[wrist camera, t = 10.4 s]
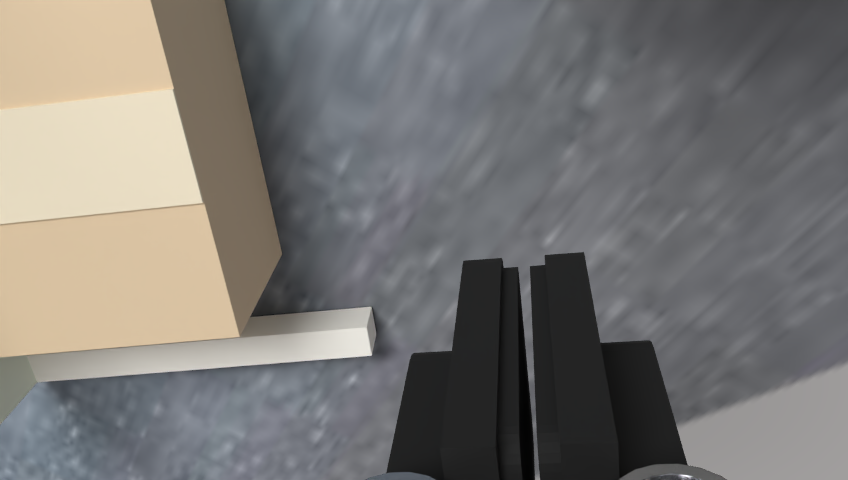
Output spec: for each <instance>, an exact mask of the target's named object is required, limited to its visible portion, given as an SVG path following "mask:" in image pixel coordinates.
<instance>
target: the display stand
mask: <svg viewBox="0 0 848 480" xmlns="http://www.w3.org/2000/svg"><path fill="white" fill-rule="evenodd" d="M375 339H376V329H375V323H374V318H373V312H372V307H362V308H351V309H339V310H327V311H316V312H304V313H293V314H281V315H270V316H258V317H250V318H249V320H248V322H247V324H246V326H245V328H244V330H243V332H242V334H241V336H240V337H233V338H222V339H210V340H198V341H186V342H175V343H163V344H151V345H139V346H128V347H116V348H104V349H93V350H81V351H69V352H57V353H46V354H34V355H22V356H10V357H0V424H1V423H2V422H3V421H4V420H5V419H6V418H7V416H8V415H9V414H10V413H11V412H12V411H13V409H14V408H15V407H16V406H17V405H18V404H19V403H20V401H21V400H22V399H23V398H24V397H25V396H26V395H27V393H28V392H29V391H30V390H31V389H32V388H33V387H34V385H35V384H36V383H37V382H48V381H61V380H73V379H86V378H98V377H111V376H123V375H136V374H148V373H161V372H173V371H186V370H198V369H211V368H223V367H236V366H248V365H261V364H273V363H286V362H298V361H311V360H323V359H336V358H348V357H361V356H372V353H373V348H374V343H375Z"/></svg>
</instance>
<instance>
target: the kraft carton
mask: <svg viewBox="0 0 848 480" xmlns="http://www.w3.org/2000/svg"><path fill="white" fill-rule="evenodd" d="M281 256H282V251H281V247H280V242H279V238H278V234H277V229H276V225H275V220H274V216H273V212H272V207H271V203H270V198H269V194H268V190H267V185H266V181H265V176H264V172H263V168H262V163H261V159H260V155H259V150H258V146H257V141H256V137H255V133H254V128H253V124H252V119H251V115H250V111H249V106H248V102H247V97H246V93H245V89H244V84H243V80H242V75H241V71H240V67H239V62H238V58H237V53H236V49H235V45H234V40H233V36H232V31H231V27H230V23H229V18H228V14H227V9H226V5H225V1H224V0H0V357H10V356H22V355H34V354H46V353H57V352H69V351H81V350H93V349H104V348H116V347H128V346H139V345H151V344H163V343H175V342H186V341H198V340H210V339H222V338H233V337H240V336H241V334H242V332H243V330H244V328H245V326H246V324H247V322H248V320H249V318H250V316H251V314H252V312H253V310H254V308H255V306H256V304H257V302H258V300H259V299H260V297H261V295H262V293H263V291H264V289H265V287H266V285H267V283H268V281H269V279H270V277H271V275H272V273H273V271H274V269H275V267H276V265H277V263H278V261H279V260H280V258H281Z"/></svg>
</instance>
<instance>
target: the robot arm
mask: <svg viewBox="0 0 848 480" xmlns="http://www.w3.org/2000/svg"><path fill="white" fill-rule="evenodd" d="M530 278H531V302H532V326H533V351H534V375H535V400H536V424H537V443H538V457H539V470H540V480H726V479H725V478H723V477H722V476H720V475H717V474H715V473H712V472H710V471H707V470H705V469H702V468H698V467H693V466H688V465H687V461H686V458H685V455H684V451H683V448H682V444H681V441H680V437H679V434H678V430H677V427H676V423H675V420H674V416H673V413H672V409H671V406H670V403H669V399H668V396H667V392H666V389H665V385H664V382H663V378H662V375H661V371H660V368H659V364H658V361H657V357H656V354H655V351H654V347H653V345H652V342H651V341H630V342H611V343H600V339H599V333H598V327H597V322H596V316H595V311H594V305H593V300H592V294H591V289H590V283H589V278H588V272H587V267H586V261H585V255H584V252H582V253H567V254H553V255H545V265H541V266H530ZM366 480H535V469H534V442H533V427H532V415H531V404H530V393H529V382H528V371H527V360H526V349H525V338H524V327H523V316H522V305H521V294H520V283H519V273H518V267H512V268H504V267H503V261H502V258H497V259H483V260H468V261H463V267H462V275H461V283H460V291H459V299H458V307H457V315H456V323H455V331H454V339H453V347H452V351H443V352H425V353H414V354H412V356H411V359H410V362H409V367H408V372H407V376H406V381H405V386H404V391H403V396H402V401H401V405H400V410H399V415H398V420H397V425H396V429H395V434H394V439H393V444H392V449H391V454H390V458H389V463H388V468H387V473H386V474H382V475H378V476H374V477H370V478H368V479H366Z"/></svg>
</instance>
